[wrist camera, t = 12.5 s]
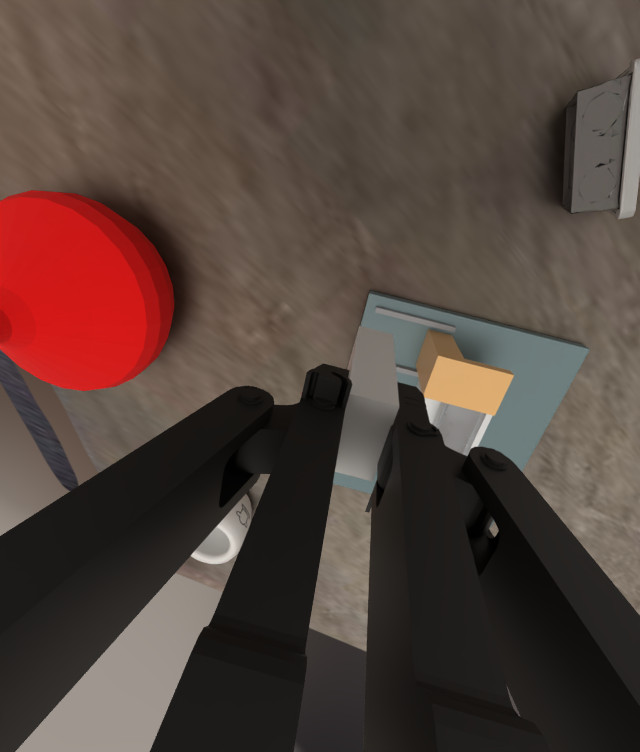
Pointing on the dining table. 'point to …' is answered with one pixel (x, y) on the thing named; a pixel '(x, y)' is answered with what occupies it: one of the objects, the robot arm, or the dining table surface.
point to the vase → (79, 291)
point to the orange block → (459, 376)
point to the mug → (226, 535)
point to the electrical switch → (604, 147)
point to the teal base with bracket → (488, 346)
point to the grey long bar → (457, 426)
